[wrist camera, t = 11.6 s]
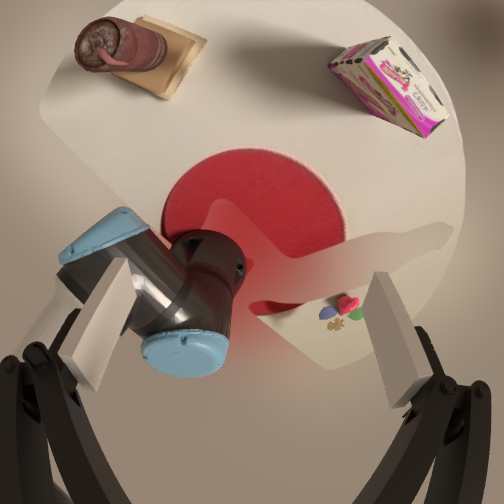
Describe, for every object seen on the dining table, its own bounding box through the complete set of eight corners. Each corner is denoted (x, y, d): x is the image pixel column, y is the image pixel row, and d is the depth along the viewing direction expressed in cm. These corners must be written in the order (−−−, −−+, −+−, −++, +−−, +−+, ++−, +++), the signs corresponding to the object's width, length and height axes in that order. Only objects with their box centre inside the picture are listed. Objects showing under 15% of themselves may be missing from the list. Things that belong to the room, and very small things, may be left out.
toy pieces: (311, 300, 59) (314, 315, 56) (361, 286, 57) (367, 300, 53) (322, 334, 66) (324, 348, 62) (366, 321, 63) (371, 335, 59)
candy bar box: (324, 66, 34) (360, 58, 21) (346, 47, 32) (391, 32, 19) (373, 118, 38) (425, 141, 25) (394, 100, 36) (452, 115, 22)
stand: (170, 100, 38) (159, 102, 34) (115, 74, 35) (100, 75, 31) (207, 40, 33) (200, 35, 29) (148, 16, 30) (135, 10, 25)
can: (149, 80, 32) (97, 85, 20) (120, 56, 29) (61, 54, 18) (179, 48, 29) (137, 34, 18) (148, 24, 27) (97, 6, 15)
